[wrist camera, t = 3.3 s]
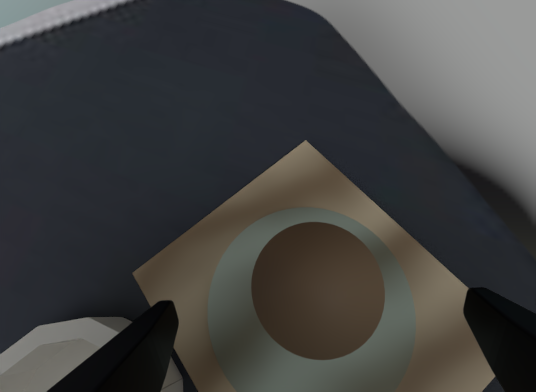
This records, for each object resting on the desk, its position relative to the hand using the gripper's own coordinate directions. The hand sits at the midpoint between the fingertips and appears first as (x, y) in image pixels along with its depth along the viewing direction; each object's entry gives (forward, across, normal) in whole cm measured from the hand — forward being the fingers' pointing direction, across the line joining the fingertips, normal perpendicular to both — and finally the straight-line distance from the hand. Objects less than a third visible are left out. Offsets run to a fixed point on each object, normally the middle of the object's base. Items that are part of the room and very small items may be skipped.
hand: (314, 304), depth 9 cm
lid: (+7, 0, +6) cm, 9 cm away
